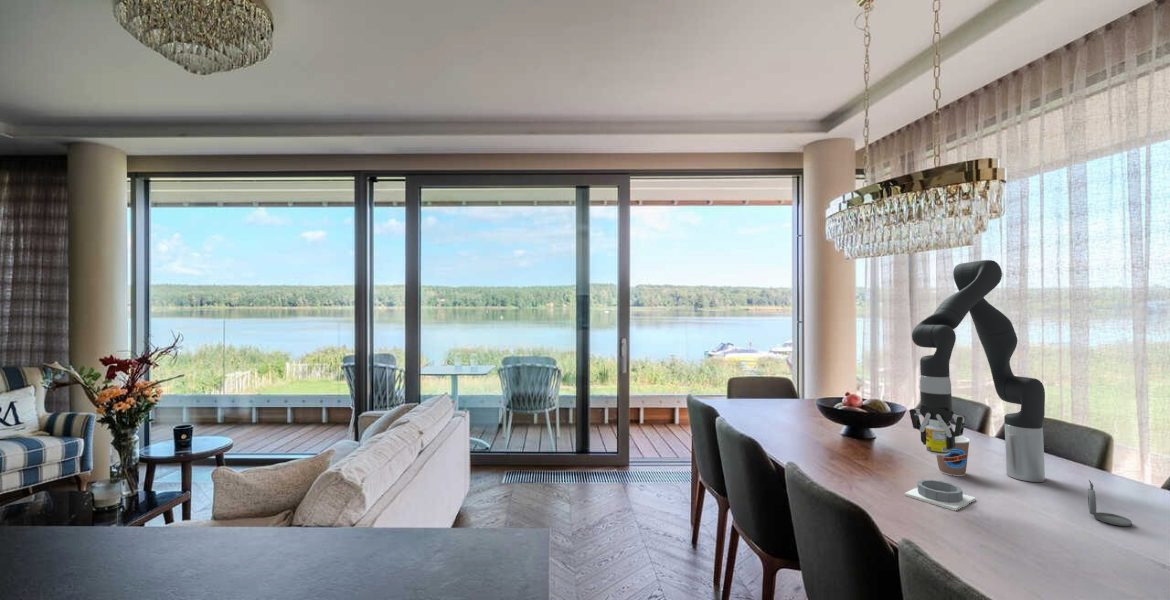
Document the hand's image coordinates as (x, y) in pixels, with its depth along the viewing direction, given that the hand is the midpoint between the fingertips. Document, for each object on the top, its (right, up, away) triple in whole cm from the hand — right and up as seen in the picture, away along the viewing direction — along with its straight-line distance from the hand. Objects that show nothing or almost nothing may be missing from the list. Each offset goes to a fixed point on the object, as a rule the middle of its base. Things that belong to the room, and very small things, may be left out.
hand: (937, 446), depth 138 cm
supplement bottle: (0, -2, 0) cm, 2 cm away
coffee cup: (+20, -15, +19) cm, 32 cm away
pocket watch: (+32, -14, -17) cm, 39 cm away
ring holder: (0, -15, 0) cm, 15 cm away
